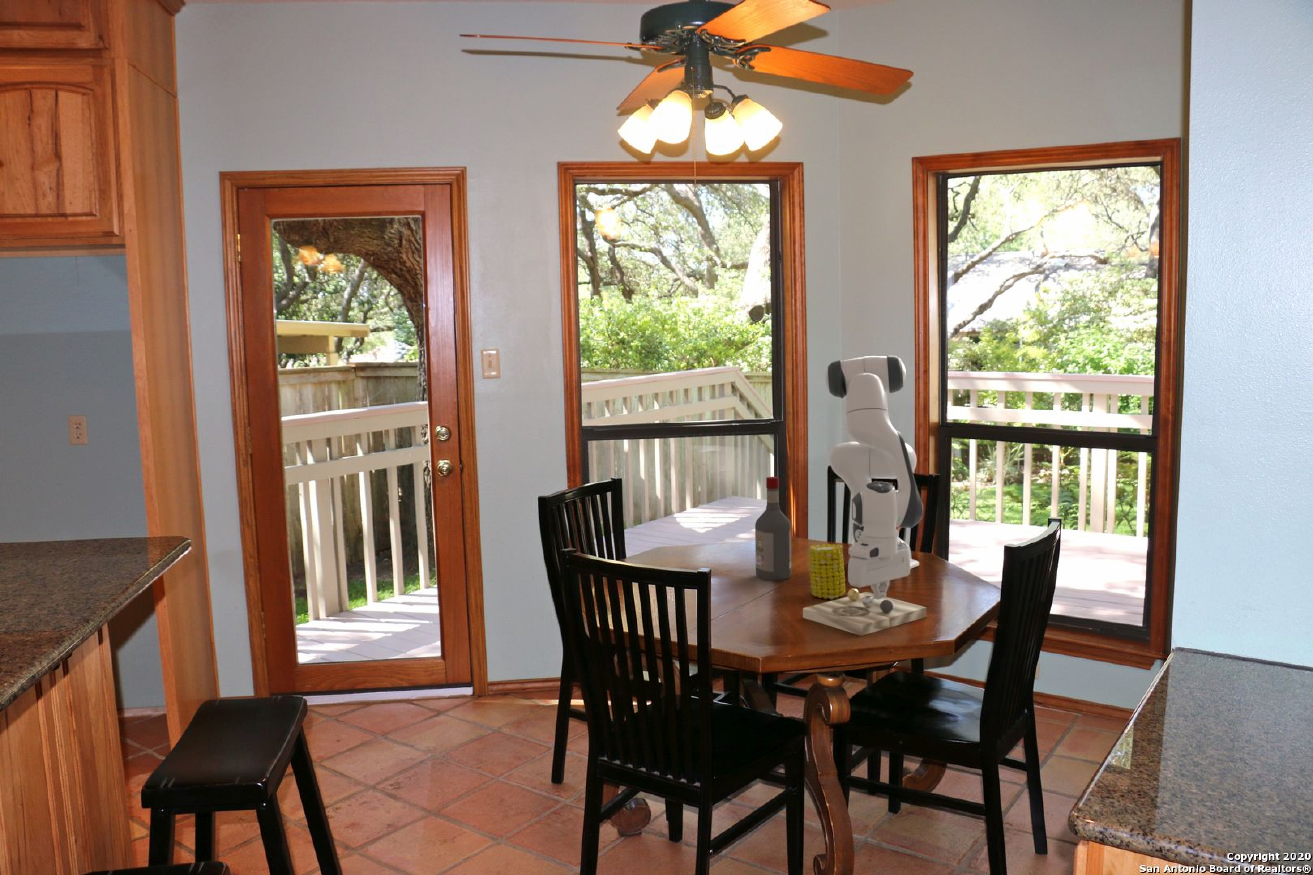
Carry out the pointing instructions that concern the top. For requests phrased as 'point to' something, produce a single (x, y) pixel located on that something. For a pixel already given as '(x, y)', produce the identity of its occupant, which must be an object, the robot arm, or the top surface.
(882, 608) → the dark grey ball
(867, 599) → the steel ball
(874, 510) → the robot arm
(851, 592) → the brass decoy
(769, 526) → the liquor
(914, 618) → the board
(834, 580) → the food
